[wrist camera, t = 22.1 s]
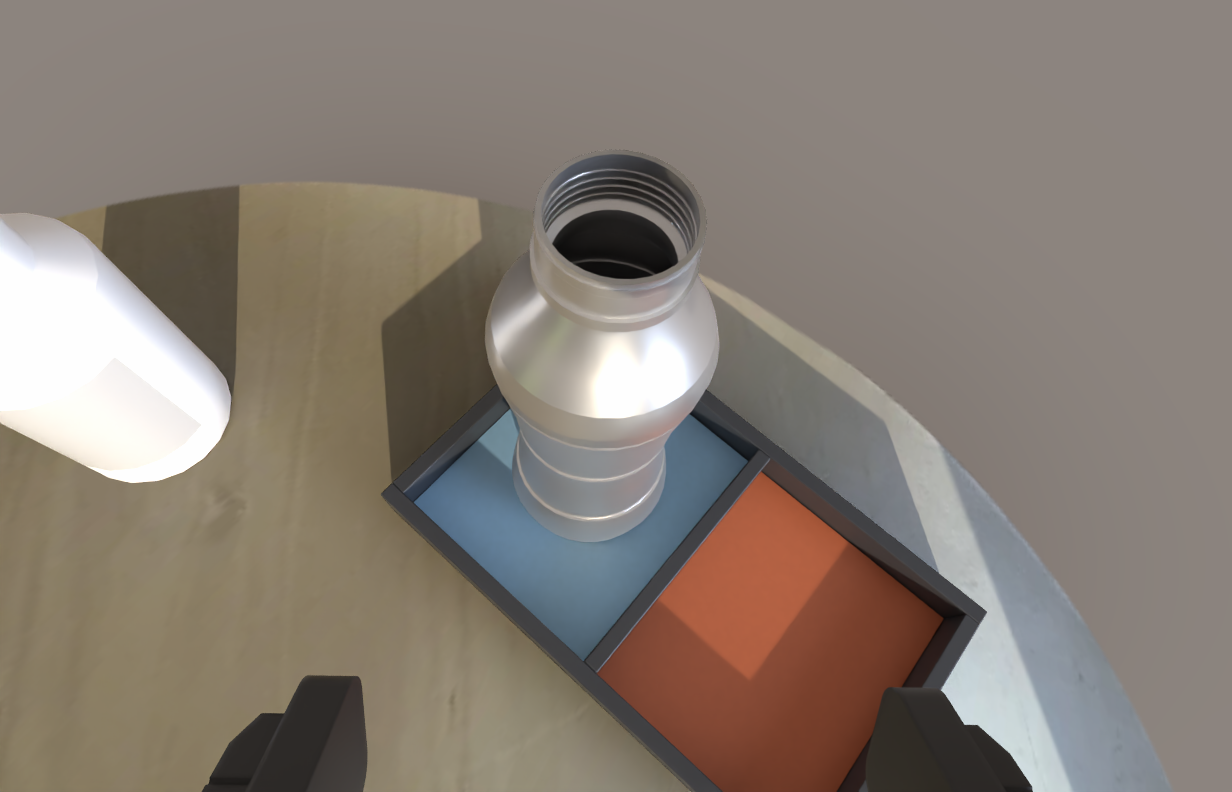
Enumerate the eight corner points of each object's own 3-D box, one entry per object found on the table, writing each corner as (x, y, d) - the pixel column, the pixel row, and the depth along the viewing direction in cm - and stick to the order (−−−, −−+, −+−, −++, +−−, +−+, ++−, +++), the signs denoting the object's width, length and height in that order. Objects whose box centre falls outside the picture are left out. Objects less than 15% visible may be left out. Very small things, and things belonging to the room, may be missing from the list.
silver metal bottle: (655, 558, 32) (785, 365, 14) (505, 546, 32) (436, 332, 14) (660, 426, 35) (776, 116, 16) (522, 414, 34) (483, 84, 16)
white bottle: (49, 423, 33) (-448, 149, 17) (172, 327, 36) (-158, 5, 19) (144, 515, 32) (-295, 315, 15) (265, 408, 34) (-4, 137, 18)
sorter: (956, 618, 33) (987, 611, 31) (792, 887, 28) (814, 903, 26) (586, 322, 38) (588, 296, 35) (392, 509, 33) (379, 494, 30)
